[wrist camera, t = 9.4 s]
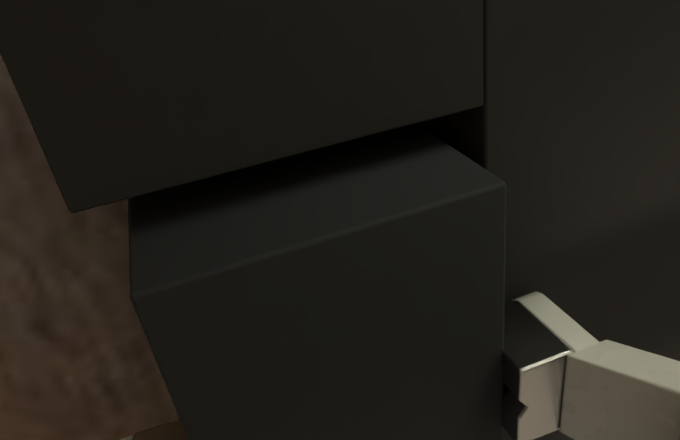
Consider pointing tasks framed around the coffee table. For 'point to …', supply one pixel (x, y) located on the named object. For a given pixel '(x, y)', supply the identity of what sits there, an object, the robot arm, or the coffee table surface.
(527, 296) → the robot arm
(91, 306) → the coffee table surface
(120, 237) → the coffee table surface
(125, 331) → the coffee table surface
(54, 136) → the big pad
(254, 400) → the small pad
